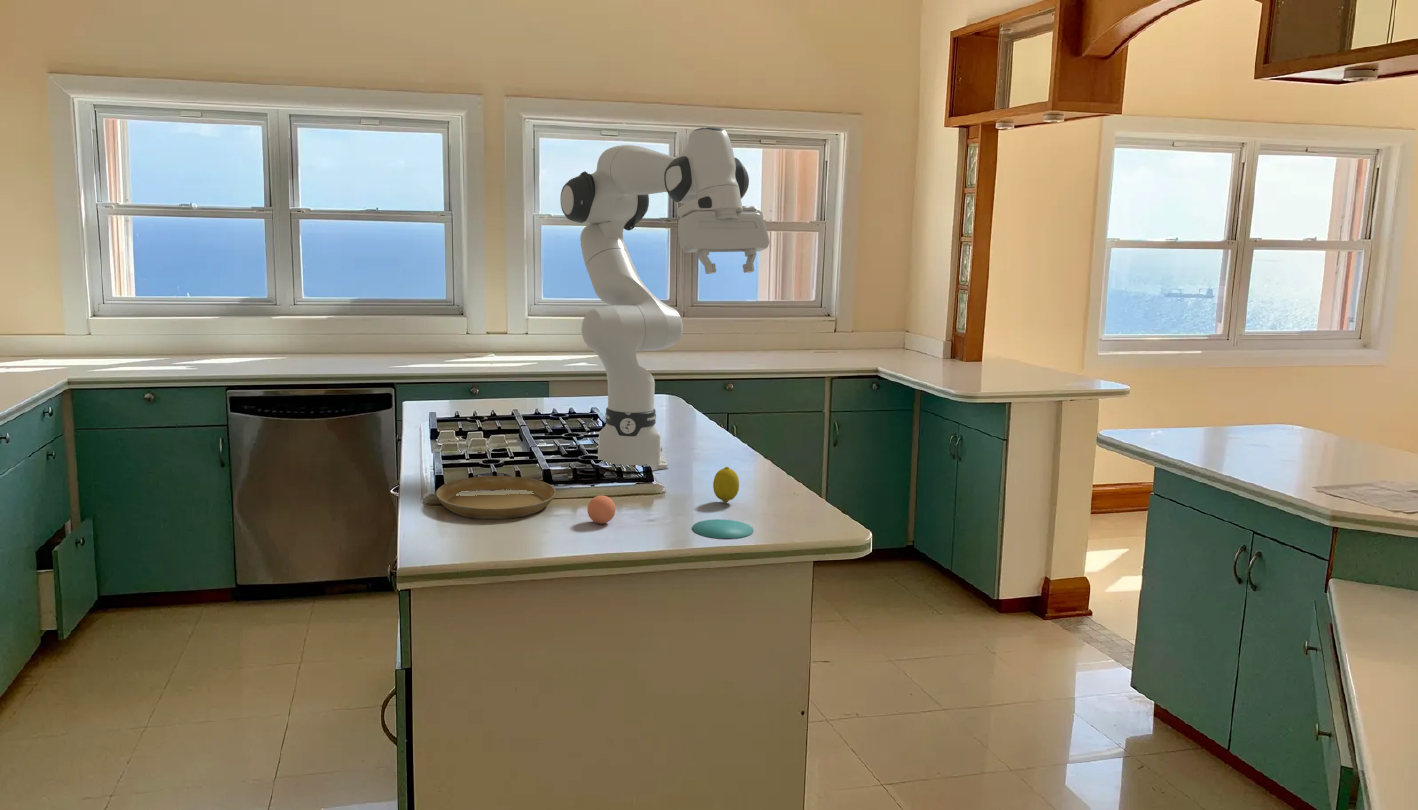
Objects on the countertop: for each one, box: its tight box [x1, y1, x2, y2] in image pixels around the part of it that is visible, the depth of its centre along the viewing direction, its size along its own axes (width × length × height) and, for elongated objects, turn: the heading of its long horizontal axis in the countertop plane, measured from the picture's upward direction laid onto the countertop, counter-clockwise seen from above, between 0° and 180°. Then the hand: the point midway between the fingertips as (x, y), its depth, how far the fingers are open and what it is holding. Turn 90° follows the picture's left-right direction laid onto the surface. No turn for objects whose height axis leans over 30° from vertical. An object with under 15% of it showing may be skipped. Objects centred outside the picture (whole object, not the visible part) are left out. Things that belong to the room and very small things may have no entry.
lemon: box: [712, 466, 740, 504], centre depth 219 cm, size 6×6×8 cm
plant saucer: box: [435, 475, 557, 520], centre depth 211 cm, size 24×24×3 cm
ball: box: [587, 494, 617, 524], centre depth 201 cm, size 6×6×6 cm
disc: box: [692, 519, 754, 539], centre depth 201 cm, size 12×12×1 cm
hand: (730, 272), depth 206 cm, fingers open, 8 cm apart
